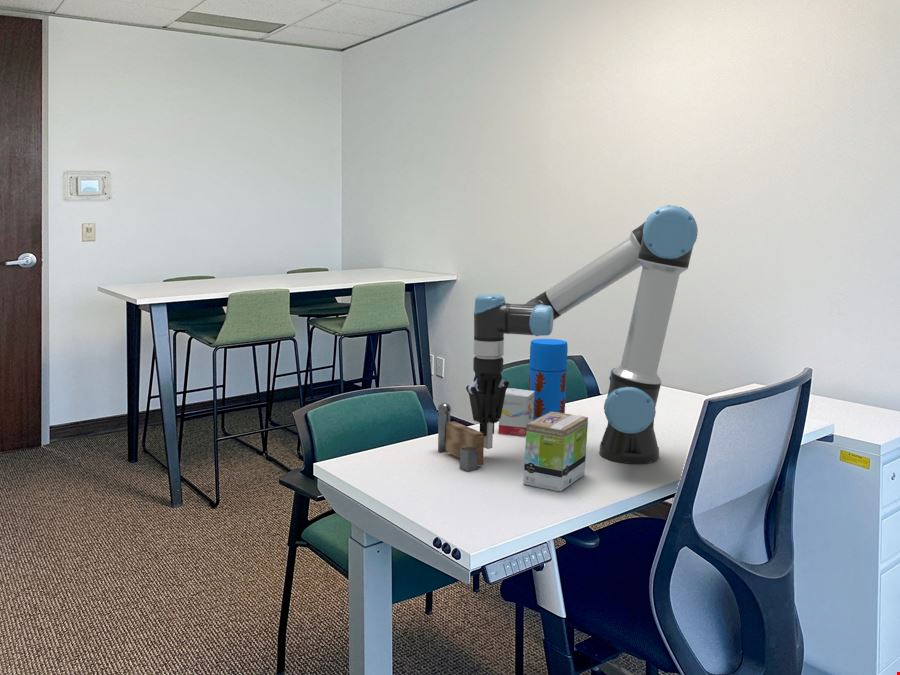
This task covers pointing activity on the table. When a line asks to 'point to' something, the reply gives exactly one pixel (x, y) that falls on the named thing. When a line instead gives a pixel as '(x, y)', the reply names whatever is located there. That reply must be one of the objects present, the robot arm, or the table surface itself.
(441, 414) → the hinge post
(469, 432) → the gate
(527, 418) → the ink box
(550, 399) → the thermos
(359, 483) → the table surface
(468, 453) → the block
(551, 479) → the tea box
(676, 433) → the table surface
